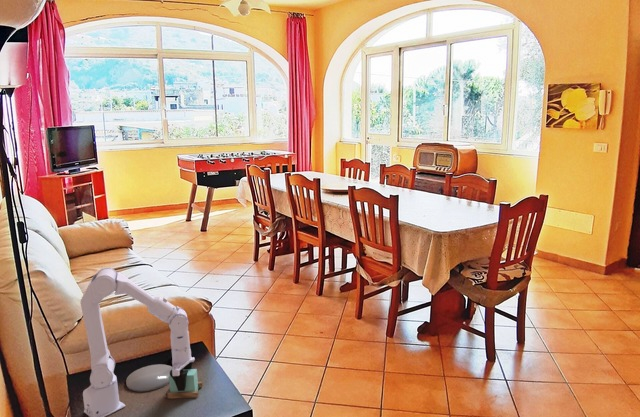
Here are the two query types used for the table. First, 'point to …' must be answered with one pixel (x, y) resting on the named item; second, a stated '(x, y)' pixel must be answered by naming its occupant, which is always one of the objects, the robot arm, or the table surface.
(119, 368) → the table surface
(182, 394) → the brown wooden frame
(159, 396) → the table surface
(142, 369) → the plate
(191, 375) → the tall mint rectangular block
